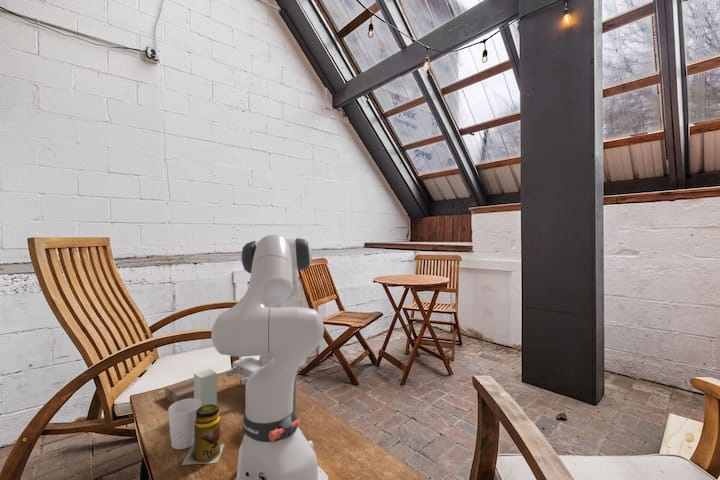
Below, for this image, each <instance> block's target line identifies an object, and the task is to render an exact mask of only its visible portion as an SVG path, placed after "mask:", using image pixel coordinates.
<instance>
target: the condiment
mask: <svg viewBox="0 0 720 480" xmlns="http://www.w3.org/2000/svg"><path fill="white" fill-rule="evenodd" d="M219 410H220V409H219V406H218V405H217V406H216V405H213V404H208V405H204V406H202V407H200V408H199V409H198V410H197V411H196V421H195V426H194V427H195V428H194V431H195V442H194V443H195V444H194V445H193V446H191V447H190V448H189V451H188V452H187V454H186V456H185V458H184V459H183V461H182V462H181V466H187V465H203V464H205V465H206V464H216V463H218V462H219V459H220V458H221V455H222V452H223V450H224V448H225V445H226V443H221V417H220V412H219Z"/></svg>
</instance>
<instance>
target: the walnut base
mask: <svg viewBox="0 0 720 480" xmlns="http://www.w3.org/2000/svg"><path fill="white" fill-rule="evenodd" d="M164 396H165V398H166V399H167V400H168V401H170V402H171V403H172V404H174V403H176V402H178V401H181V400H184V399H194V377H191V378H188V379H184V380H181V381H179V382H175V383H173V384H170V385H166V386H165V388H164Z"/></svg>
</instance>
